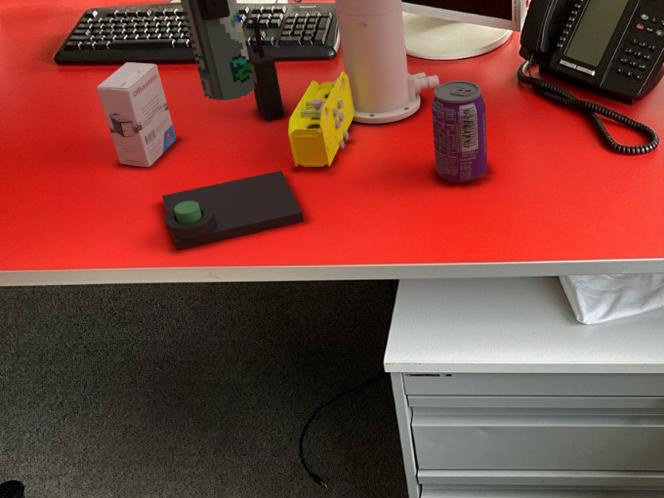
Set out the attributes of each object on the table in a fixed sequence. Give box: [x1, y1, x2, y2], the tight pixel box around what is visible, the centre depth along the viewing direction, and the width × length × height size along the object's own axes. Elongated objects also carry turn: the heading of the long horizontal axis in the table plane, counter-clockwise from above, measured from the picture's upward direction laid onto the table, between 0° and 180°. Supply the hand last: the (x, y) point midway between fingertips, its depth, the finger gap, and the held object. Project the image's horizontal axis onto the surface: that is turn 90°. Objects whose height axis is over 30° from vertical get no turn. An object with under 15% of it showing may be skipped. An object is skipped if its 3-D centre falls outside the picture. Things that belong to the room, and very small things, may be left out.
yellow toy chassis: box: [287, 71, 354, 168], centre depth 128 cm, size 16×6×8 cm, turn 174°
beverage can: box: [430, 80, 488, 183], centre depth 120 cm, size 7×7×12 cm
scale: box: [161, 169, 305, 251], centre depth 116 cm, size 16×12×3 cm
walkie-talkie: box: [247, 16, 285, 121], centre depth 134 cm, size 5×3×15 cm
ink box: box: [96, 61, 177, 168], centre depth 126 cm, size 9×5×12 cm, turn 168°
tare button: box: [174, 201, 202, 223], centre depth 111 cm, size 3×3×2 cm
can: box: [179, 0, 255, 102], centre depth 105 cm, size 6×6×15 cm
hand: (210, 6), depth 103 cm, fingers closed on can, 6 cm apart
